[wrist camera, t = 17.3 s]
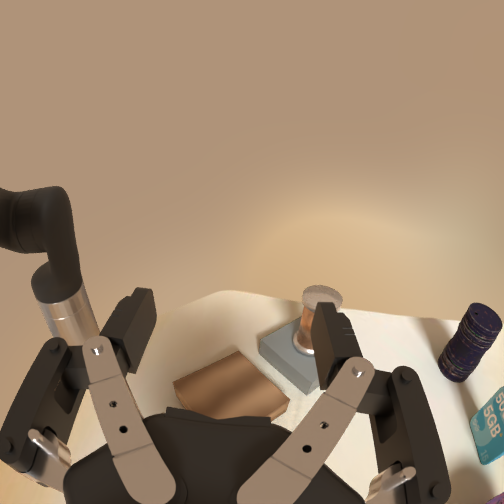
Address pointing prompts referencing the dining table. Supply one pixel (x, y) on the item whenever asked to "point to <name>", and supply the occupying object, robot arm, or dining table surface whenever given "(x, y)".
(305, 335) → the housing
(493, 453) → the data package
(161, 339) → the dining table surface
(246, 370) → the walnut stand
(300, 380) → the slate stand
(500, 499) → the decorative ball
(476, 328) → the dark blue cylinder
